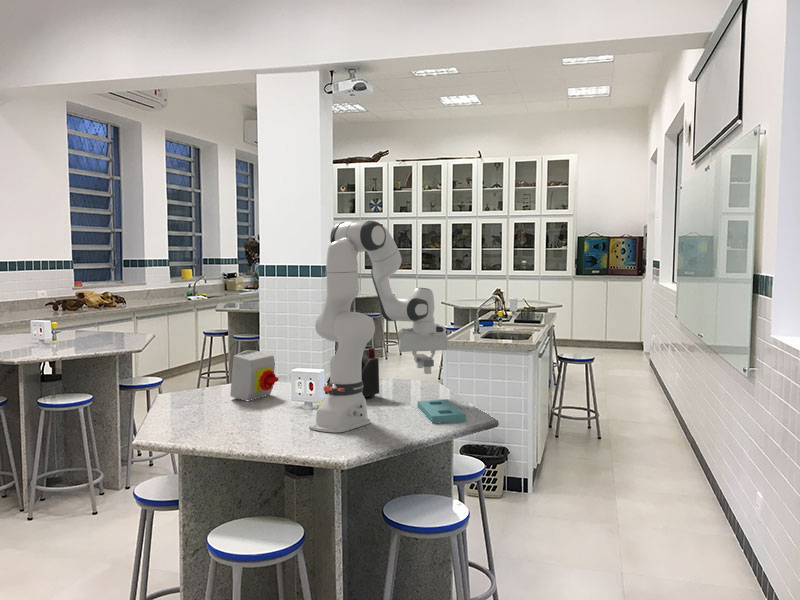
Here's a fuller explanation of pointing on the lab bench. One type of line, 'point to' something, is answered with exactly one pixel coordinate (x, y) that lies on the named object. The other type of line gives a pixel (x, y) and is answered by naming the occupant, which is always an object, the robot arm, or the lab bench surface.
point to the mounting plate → (441, 411)
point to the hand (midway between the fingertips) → (423, 362)
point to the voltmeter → (369, 374)
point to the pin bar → (424, 363)
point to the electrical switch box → (252, 375)
